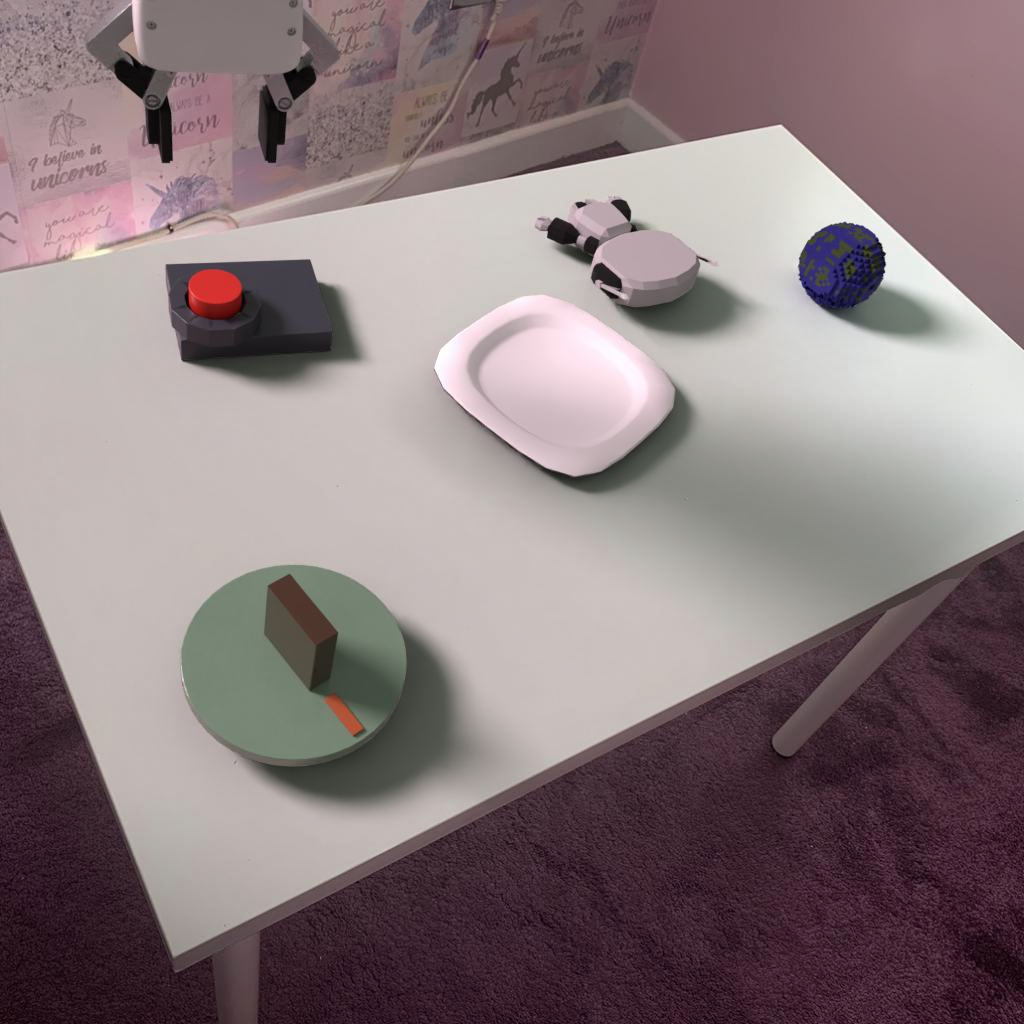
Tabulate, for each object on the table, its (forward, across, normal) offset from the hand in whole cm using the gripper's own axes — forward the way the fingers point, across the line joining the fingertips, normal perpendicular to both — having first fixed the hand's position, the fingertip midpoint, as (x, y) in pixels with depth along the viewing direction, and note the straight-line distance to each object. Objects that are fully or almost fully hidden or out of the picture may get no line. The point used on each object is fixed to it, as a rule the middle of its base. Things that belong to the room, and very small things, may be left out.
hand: (216, 149), depth 73 cm
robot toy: (+18, -39, -6) cm, 43 cm away
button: (+14, 0, 0) cm, 14 cm away
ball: (+18, -61, -1) cm, 64 cm away
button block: (+18, -3, -2) cm, 18 cm away
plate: (+18, -27, +9) cm, 34 cm away
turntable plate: (+16, 0, +32) cm, 36 cm away
